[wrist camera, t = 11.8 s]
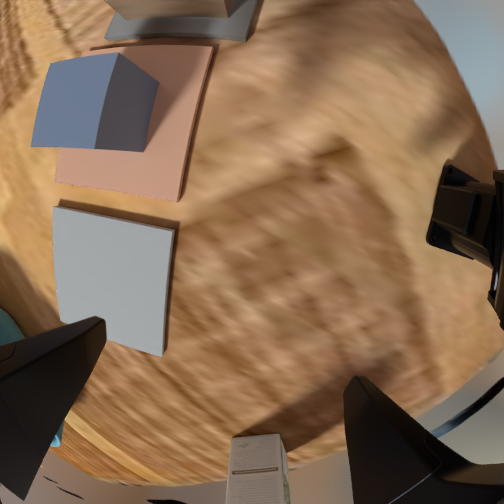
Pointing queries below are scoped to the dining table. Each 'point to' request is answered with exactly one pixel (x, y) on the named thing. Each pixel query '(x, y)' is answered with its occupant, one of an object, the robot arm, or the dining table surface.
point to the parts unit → (181, 19)
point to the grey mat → (113, 275)
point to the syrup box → (258, 471)
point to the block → (95, 104)
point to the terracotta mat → (159, 131)
